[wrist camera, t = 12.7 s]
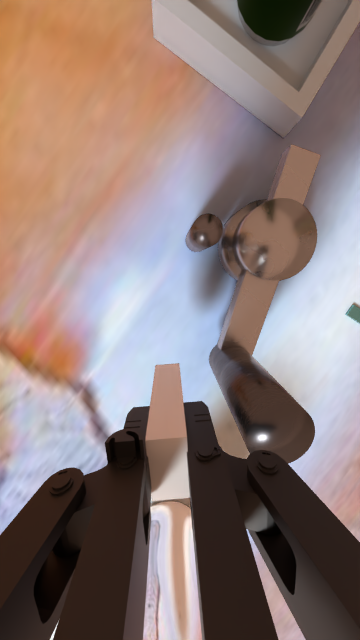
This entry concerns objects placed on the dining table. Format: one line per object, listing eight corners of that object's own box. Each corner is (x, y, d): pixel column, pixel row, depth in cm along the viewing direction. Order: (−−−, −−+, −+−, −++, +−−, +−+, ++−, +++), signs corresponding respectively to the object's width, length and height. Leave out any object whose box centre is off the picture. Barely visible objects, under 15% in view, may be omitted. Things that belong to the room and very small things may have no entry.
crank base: (180, 245, 18) (185, 237, 14) (220, 174, 17) (242, 138, 13) (354, 354, 21) (409, 379, 17) (396, 298, 20) (468, 307, 16)
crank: (260, 146, 15) (380, -7, 7) (328, 170, 16) (517, 58, 7) (192, 368, 18) (214, 454, 10) (251, 382, 19) (319, 474, 10)
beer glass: (189, 488, 24) (226, 841, 9) (208, 536, 25) (265, 903, 11) (125, 509, 24) (60, 891, 9) (148, 555, 25) (123, 945, 11)
